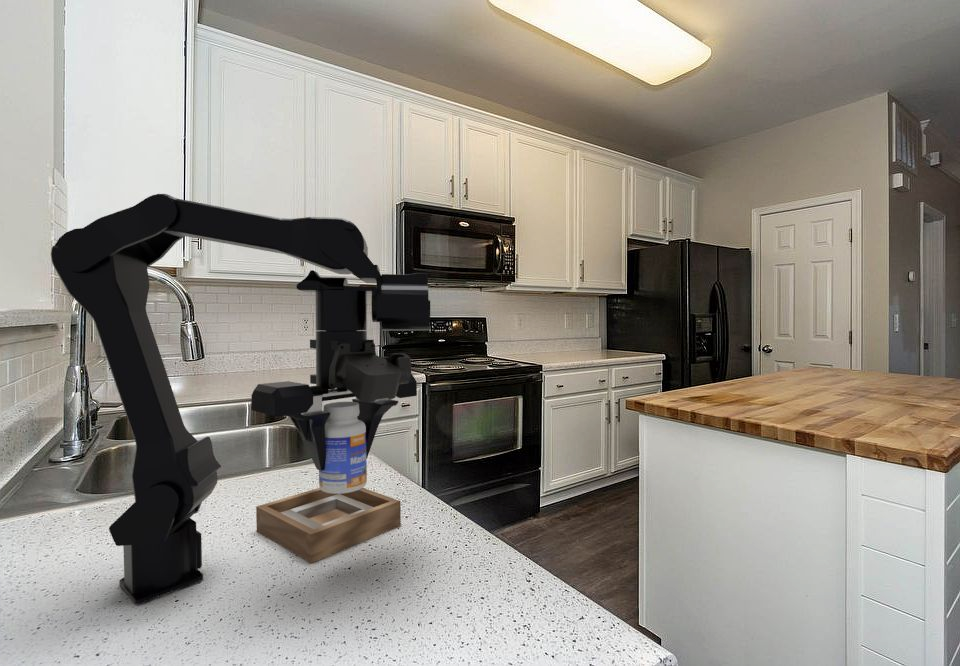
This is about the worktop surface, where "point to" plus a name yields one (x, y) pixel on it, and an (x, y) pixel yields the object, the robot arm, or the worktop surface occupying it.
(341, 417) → the pill bottle
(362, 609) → the worktop surface
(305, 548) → the walnut box
